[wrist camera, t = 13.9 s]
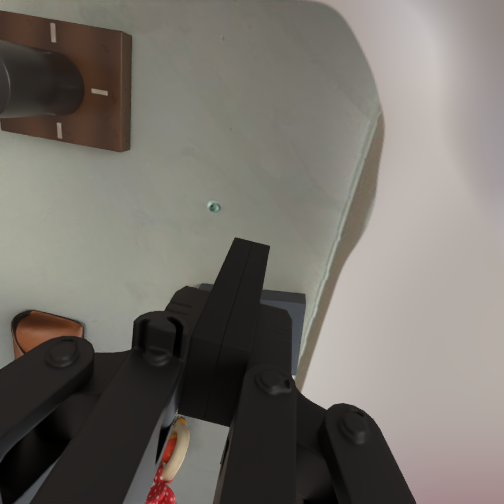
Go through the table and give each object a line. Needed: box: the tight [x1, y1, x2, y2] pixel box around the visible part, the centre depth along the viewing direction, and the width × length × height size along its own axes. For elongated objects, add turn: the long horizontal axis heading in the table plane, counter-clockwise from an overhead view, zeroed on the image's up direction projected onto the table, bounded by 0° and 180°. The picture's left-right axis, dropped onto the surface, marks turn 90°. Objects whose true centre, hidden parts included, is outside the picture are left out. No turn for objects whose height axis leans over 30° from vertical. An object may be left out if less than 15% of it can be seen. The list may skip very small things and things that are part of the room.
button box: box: [199, 284, 306, 375], centre depth 40 cm, size 12×10×4 cm
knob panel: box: [0, 10, 132, 152], centre depth 32 cm, size 12×10×2 cm
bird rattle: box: [145, 418, 190, 504], centre depth 46 cm, size 6×11×9 cm
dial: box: [0, 39, 84, 118], centre depth 27 cm, size 5×5×9 cm
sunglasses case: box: [11, 310, 84, 360], centre depth 46 cm, size 18×7×7 cm, turn 172°
